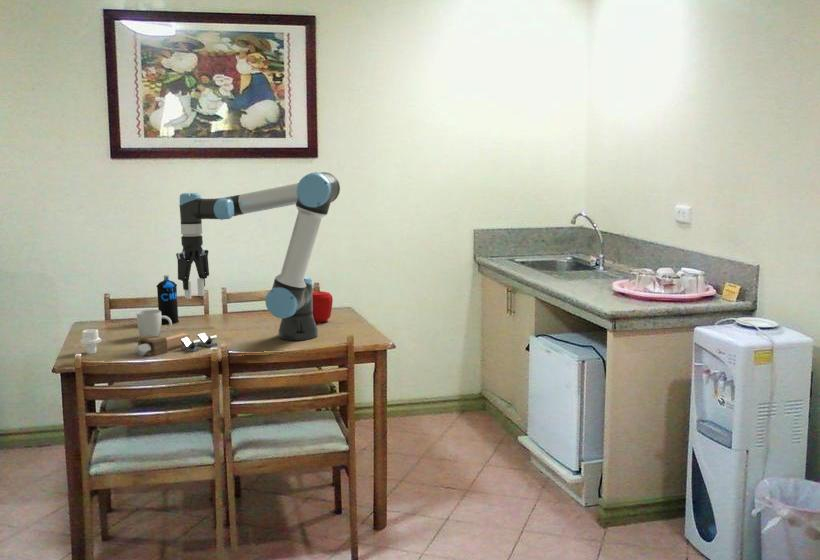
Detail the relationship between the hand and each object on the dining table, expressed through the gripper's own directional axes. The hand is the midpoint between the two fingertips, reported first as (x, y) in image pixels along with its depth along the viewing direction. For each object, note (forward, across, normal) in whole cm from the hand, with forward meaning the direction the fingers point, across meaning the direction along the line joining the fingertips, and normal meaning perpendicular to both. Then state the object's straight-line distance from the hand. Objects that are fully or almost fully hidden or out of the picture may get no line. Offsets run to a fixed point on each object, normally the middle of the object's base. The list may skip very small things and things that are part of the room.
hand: (194, 296), depth 291 cm
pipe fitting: (+17, +32, -18) cm, 41 cm away
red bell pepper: (+17, -52, +18) cm, 57 cm away
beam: (+17, +14, 0) cm, 22 cm away
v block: (+17, +7, +9) cm, 20 cm away
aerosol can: (+17, -17, -36) cm, 43 cm away
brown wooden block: (+17, +10, 0) cm, 20 cm away
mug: (+17, +4, -18) cm, 25 cm away
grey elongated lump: (+17, +21, 0) cm, 27 cm away
